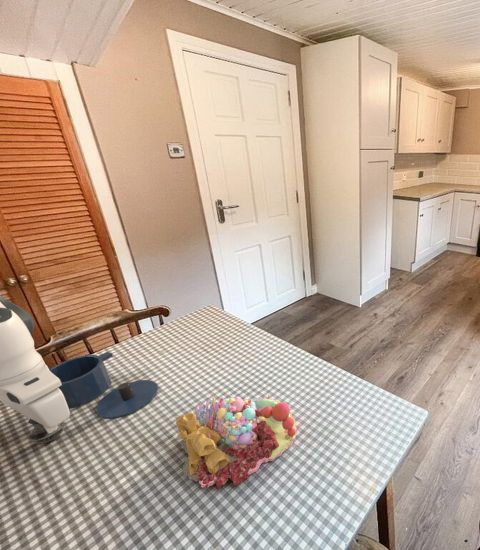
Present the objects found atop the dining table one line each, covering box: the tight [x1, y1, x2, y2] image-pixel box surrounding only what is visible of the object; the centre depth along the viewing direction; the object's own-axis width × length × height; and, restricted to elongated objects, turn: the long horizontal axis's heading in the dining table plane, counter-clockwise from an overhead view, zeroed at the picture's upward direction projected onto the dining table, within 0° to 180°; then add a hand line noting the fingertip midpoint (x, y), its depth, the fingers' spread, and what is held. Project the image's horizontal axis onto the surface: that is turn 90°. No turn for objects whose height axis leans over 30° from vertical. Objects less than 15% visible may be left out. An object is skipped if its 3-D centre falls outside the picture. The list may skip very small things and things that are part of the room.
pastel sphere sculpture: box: [175, 394, 298, 492], centre depth 71 cm, size 25×24×9 cm
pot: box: [49, 351, 114, 410], centre depth 84 cm, size 13×18×8 cm
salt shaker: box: [28, 418, 65, 445], centre depth 70 cm, size 6×6×12 cm
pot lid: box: [95, 379, 159, 420], centre depth 82 cm, size 14×14×5 cm
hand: (44, 426), depth 70 cm, fingers open, 4 cm apart
